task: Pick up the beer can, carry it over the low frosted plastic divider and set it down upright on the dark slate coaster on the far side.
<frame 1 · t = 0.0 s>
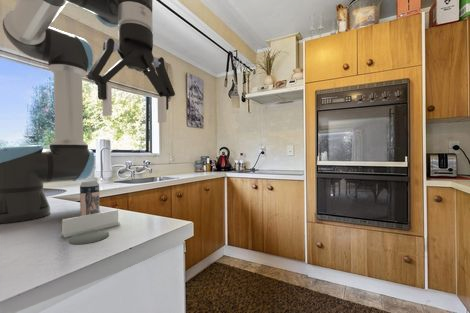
hand: (137, 119, 55), 28 cm above the counter, fingers open, 13 cm apart
coaster: (89, 237, 55), on the counter
divider: (92, 229, 62), on the counter
beer can: (90, 223, 68), on the counter
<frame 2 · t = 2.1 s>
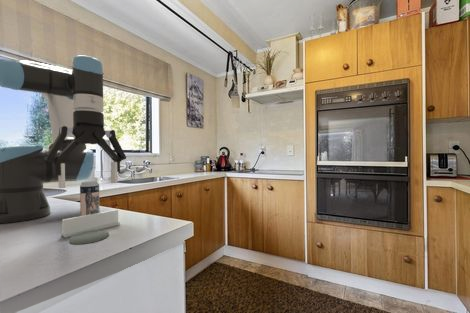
hand: (90, 185, 67), 11 cm above the counter, fingers open, 13 cm apart
nothing on the counter moved.
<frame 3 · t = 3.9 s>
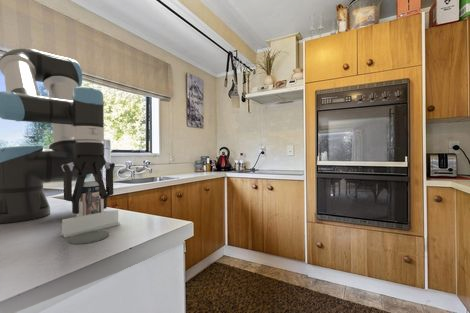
hand: (90, 222, 68), 0 cm above the counter, fingers closed on beer can, 5 cm apart
beer can: (90, 223, 68), on the counter, touching gripper
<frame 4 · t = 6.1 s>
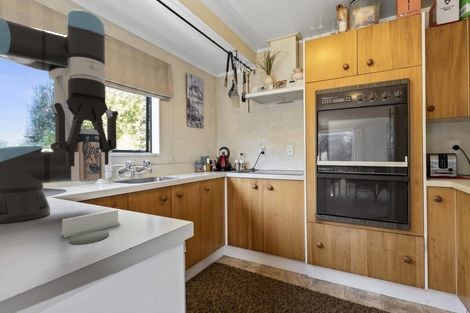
hand: (88, 179, 55), 14 cm above the counter, fingers closed on beer can, 5 cm apart
beer can: (88, 181, 55), point 13 cm above the counter, touching gripper
when the fingers open (2 cm above the counter, at t = 8.3 s): beer can drops 1 cm, resting on coaster.
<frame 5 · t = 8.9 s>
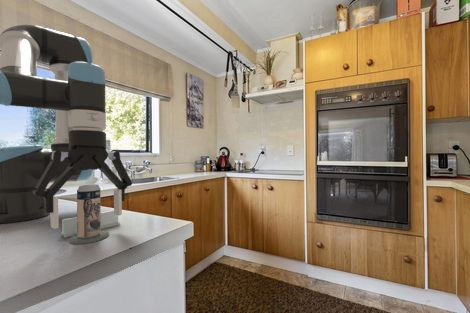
hand: (89, 220, 55), 4 cm above the counter, fingers open, 13 cm apart
beer can: (89, 236, 55), resting on coaster
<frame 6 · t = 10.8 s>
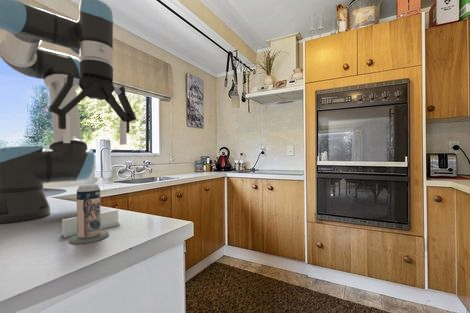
hand: (97, 144, 62), 23 cm above the counter, fingers open, 13 cm apart
nothing on the counter moved.
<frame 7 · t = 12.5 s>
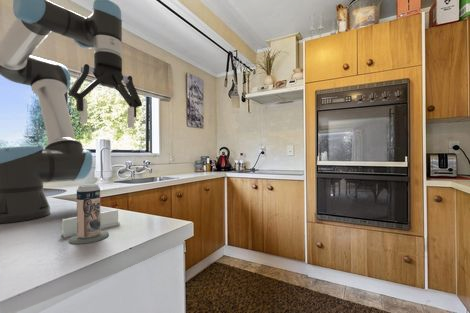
hand: (109, 125, 70), 29 cm above the counter, fingers open, 13 cm apart
nothing on the counter moved.
at the end: beer can 0.1 cm from the coaster (horizontally); beer can tilted 0°; the gripper is holding nothing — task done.
